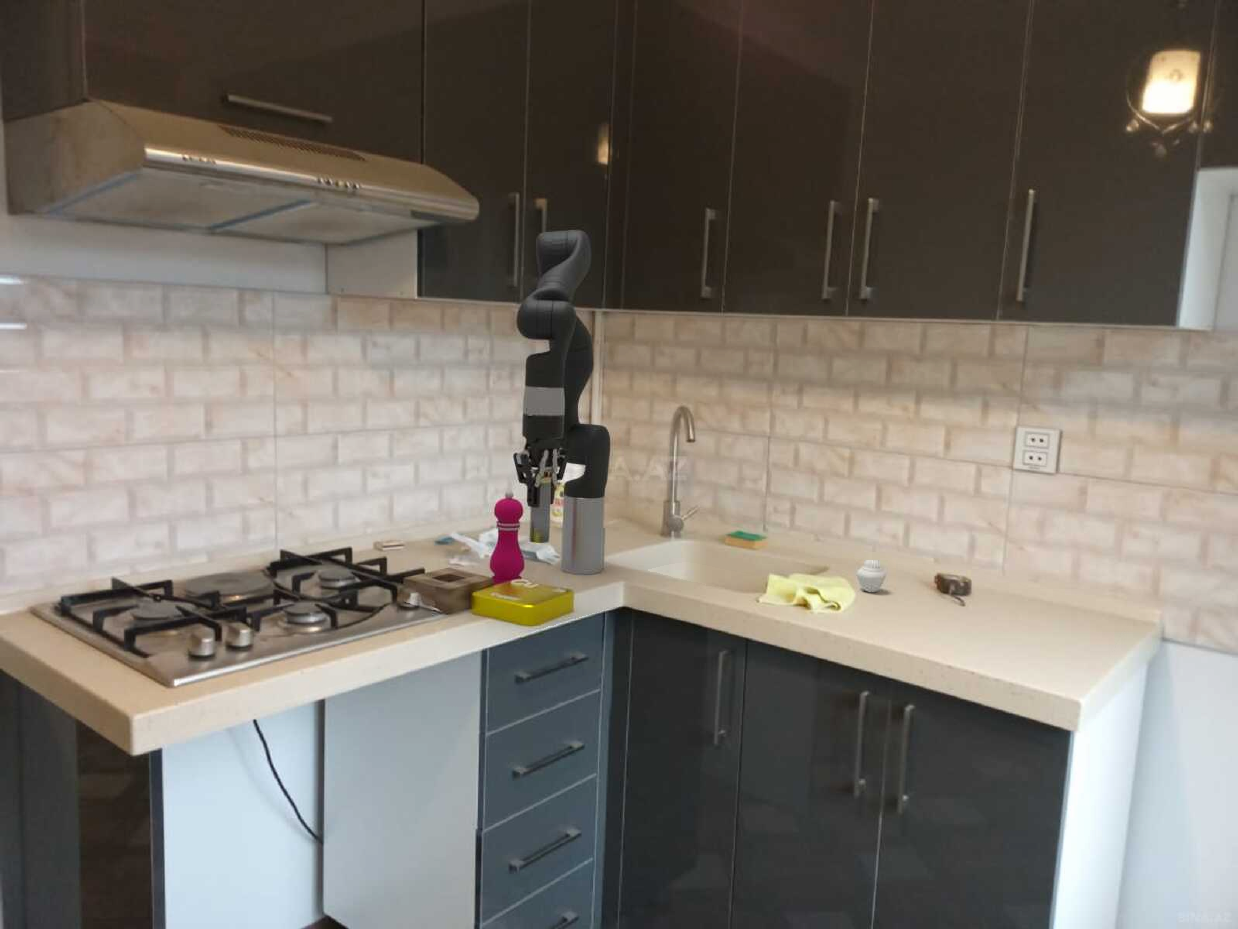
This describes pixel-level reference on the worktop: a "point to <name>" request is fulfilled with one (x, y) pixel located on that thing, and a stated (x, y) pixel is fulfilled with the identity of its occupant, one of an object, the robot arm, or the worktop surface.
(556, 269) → the robot arm
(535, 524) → the metal pin
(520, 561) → the pepper mill
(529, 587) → the element tile
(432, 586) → the pin block
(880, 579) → the white rounded jar
